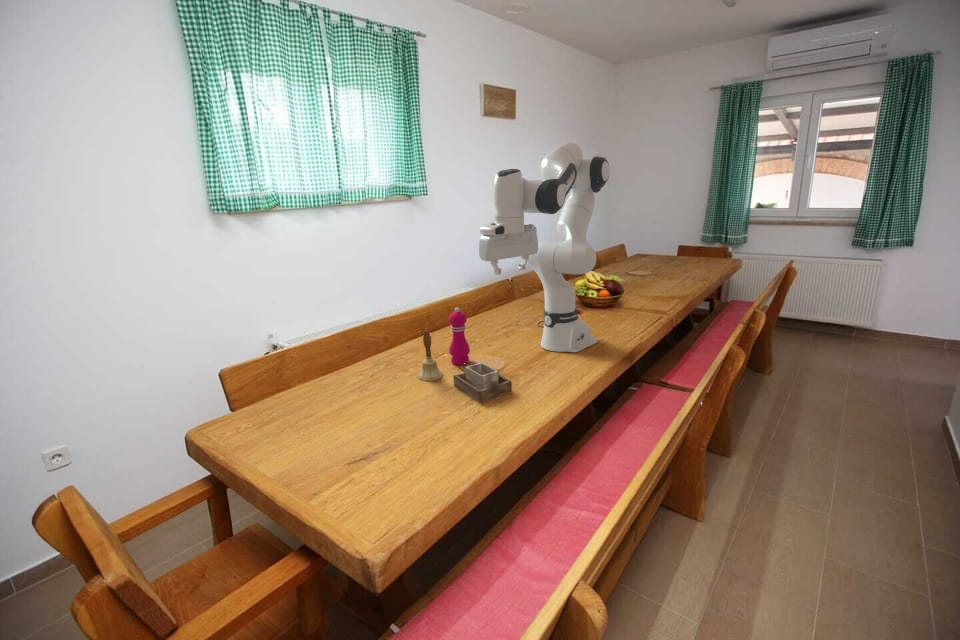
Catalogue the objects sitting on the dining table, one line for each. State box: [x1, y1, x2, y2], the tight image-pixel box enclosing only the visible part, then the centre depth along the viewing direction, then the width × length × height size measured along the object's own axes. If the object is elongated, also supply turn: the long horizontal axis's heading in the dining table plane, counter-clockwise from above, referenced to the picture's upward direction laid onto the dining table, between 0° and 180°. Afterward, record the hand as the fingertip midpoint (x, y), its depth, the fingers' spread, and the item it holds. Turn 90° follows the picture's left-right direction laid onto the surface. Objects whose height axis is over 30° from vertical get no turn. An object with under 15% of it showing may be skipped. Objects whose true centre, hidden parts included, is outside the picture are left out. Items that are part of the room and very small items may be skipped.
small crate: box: [465, 361, 500, 390], centre depth 142 cm, size 6×9×6 cm, turn 33°
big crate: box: [453, 371, 513, 404], centre depth 143 cm, size 12×15×4 cm
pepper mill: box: [448, 307, 471, 366], centre depth 162 cm, size 7×7×20 cm
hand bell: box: [417, 329, 444, 382], centre depth 152 cm, size 8×8×16 cm
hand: (510, 272), depth 143 cm, fingers open, 8 cm apart
